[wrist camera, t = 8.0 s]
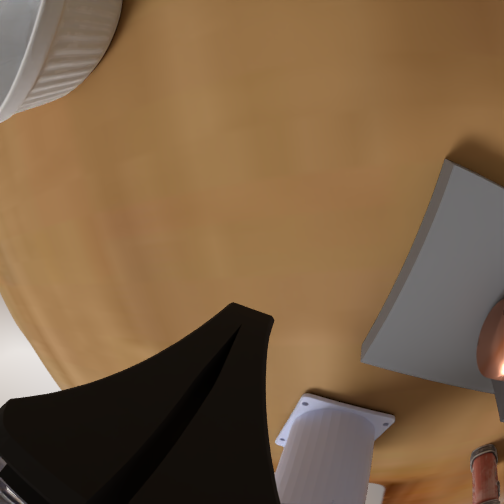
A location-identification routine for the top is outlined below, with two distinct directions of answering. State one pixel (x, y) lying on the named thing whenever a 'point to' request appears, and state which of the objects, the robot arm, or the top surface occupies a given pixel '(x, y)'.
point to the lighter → (485, 475)
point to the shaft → (492, 344)
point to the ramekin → (50, 48)
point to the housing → (446, 287)
